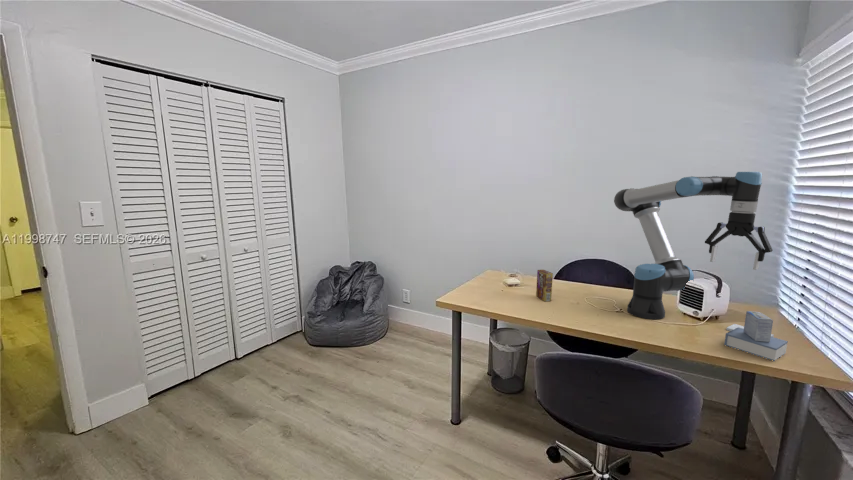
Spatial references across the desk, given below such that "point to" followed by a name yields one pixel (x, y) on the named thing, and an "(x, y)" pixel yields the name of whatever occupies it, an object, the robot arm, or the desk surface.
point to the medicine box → (758, 326)
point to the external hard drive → (737, 327)
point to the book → (755, 344)
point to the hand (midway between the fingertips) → (733, 265)
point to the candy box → (544, 285)
